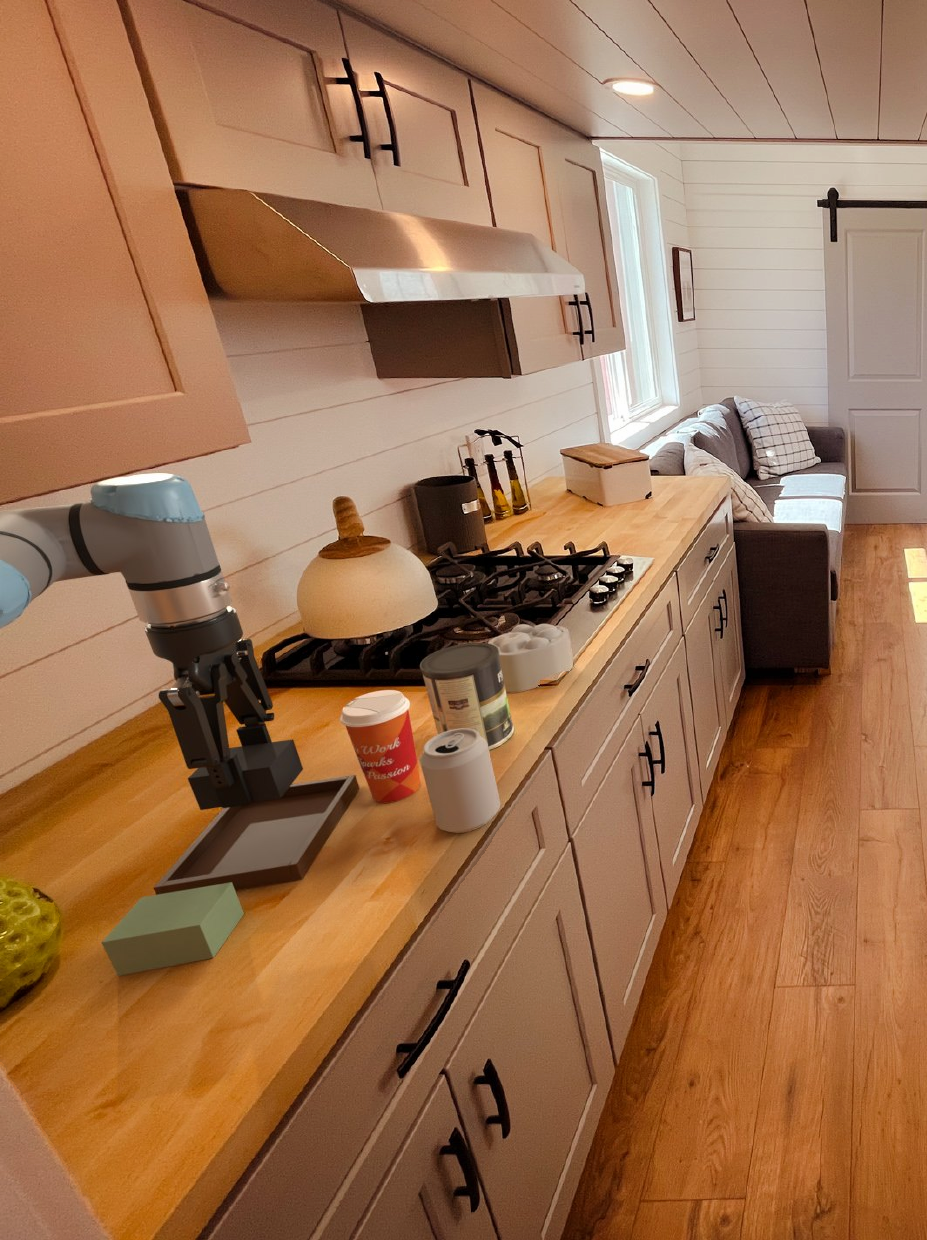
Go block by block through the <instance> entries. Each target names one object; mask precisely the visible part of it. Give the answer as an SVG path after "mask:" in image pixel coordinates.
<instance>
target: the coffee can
mask: <svg viewBox="0 0 927 1240" xmlns="http://www.w3.org/2000/svg"><path fill="white" fill-rule="evenodd" d="M419 669H420V672H421V673H422V677H423V681H424V685H425V689H426V692H427V697H428V702H429V705H430V708H431V709H430V710H431V713H432V717H433V721H434V725H435V728H436V733H437V735H438V734H441V733H443V732H446V731H449V730H453V729H460V728H469V729H474V730H476V731H477V732H479V734H480V736H481V737H482V738H484V739H485V740H486V741H487V744H488V748H489V751H491V750H494V749H496V748H498V747H500V746H501V745H503V744H505V743H506V742H507V741H508V740H509V739H511V737H512V736H513V734H514V732H515V726H514V723H513V719H512V714H511V709H510V706H509V699H508V695H507V692H506V689H505V684H504V679H503V674H502V669H501V664H500V660H499V650H498V648H497V647H496V646H495V645H492V644H488V642H465V643H461V644H459V643H458V644H455V645H451V646H447V647H445V648H441V649H439V650H437V651H434V652H433V653H430V654H428V655H427V656H426V657H424V658H423V659H422V661H420V664H419Z"/></svg>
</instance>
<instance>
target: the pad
mask: <svg viewBox="0 0 927 1240" xmlns="http://www.w3.org/2000/svg"><path fill="white" fill-rule="evenodd" d="M244 915H245V912H244V910H243V907H242V904H241V902H240V899H239V897H238V894H237V891H235V889H234V886H233V884H232V882H230V883H224V884H218V885H212V886H206V887H200V888H194V889H189V890H183V891H177V892H171V893H165V894H159V895H156V894H153V895H148V896H141V897H139V899H138V900H137V902H136V903H134V905H133V906H132V907H131V908H130V909H129V911H128V912H127V913H126V914H125V915H124V916H123V917H122V919H121V920H120V921H119V922H118V923H117V924H116V926H115V927H114V928H113V929H112V930H111V931H110V932H109V933H108V934H107V935H106V937H105V938H104V939H103V940H102V941H101V945H102V946H103V949H104V951H105V954H106V955H107V956H108V959H109V961H110V963H111V965H112V967H113V969H114V972H115V973H116V975H117V977H121V976H125V975H126V976H127V975H130V974H131V975H132V974H137V973H141V972H142V973H143V972H147V971H152V970H158V969H162V968H168V967H173V966H179V965H184V964H189V963H194V962H199V961H205V960H210V959H214V958H215V957H216V956H217V954H218V952H219V951H220V950H221V948H222V947H223V945H224V944H225V942H226V941H227V939H228V938H229V937H230V935H231V934H232V932H233V931H234V929H235V928H236V927H237V925H238V924H239V922H240V921H241V920H242V918H243V916H244Z"/></svg>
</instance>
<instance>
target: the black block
mask: <svg viewBox="0 0 927 1240" xmlns="http://www.w3.org/2000/svg"><path fill="white" fill-rule="evenodd" d="M229 750H230V755H235V754H237V757H238V760H239V762H240V765H241V768H242V771H243V774H244V777H245V779H246V782H247V785H248V787H249V790H250V793H251V795H252V798H253V802H259V801H265V800H272V799H279V798H281V797H282V796H283V795H284V793H285V792H286V791H287V789H288V788H289V787H290V786H291V784H294V782H295V781H296V780H297V778H298V777H299V775H300V774H301V773H302V771H303V770H304V767H303V764H302V761H301V759H300V755H299V753H298V749H297V747H296V744H295V740H294V739H286V740H285V739H284V740H278V741H272V742H270V743H262V744H255V745H247V746H242V745H241V746H234V747H233V746H232V747H229ZM187 782H188V783H189V786H190V788H191V791H192V793H193V796H194V798H195V800H196V803H197V806H198V808H199V809H200V811H205V810H211V809H217V808H222V805H221V803H220V800H219V798H218V795H217V792H216V790H215V787H214V786H213V784H212V781H211V778H210V776H209V774H208V771H207V769H206V767H203V768H196V770H194V772H192V774H190V776H188V777H187Z"/></svg>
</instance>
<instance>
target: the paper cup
mask: <svg viewBox="0 0 927 1240" xmlns="http://www.w3.org/2000/svg"><path fill="white" fill-rule="evenodd" d="M410 708H411V702H410V699H408V698H407V697H406V696H404V694H403V693H402V692H401V691H399V690H395V689H384V690H376V691H372V692H368V693H364V694H361V695H359V696H357V697H355V698H354V699H353V700H350V702H348V703H347V704H346V705H345V706H343V708H342V710H341V715H340V719H339V721H340V723H341V724H342V725H343V726H344V727H345V729H346V731H347V734H348V737H349V739H350V742H351V744H352V748H353V750H354V753H355V755H356V757H357V761H358V763H359V765H360V768H361V771H362V774H363V776H364V778H365V780H366V783H367V786H368V789H369V791H370V794H371V795H372V797H373V799H374V801H376V802H378V803H380V804H381V803H383V804H387V803H395V802H399V801H401V800H404V799H406V798H408V797H410V796H411V795H413V794H415V793H416V792H417V791H418V790H419V789H420V787H421V775H420V769H419V762H418V756H417V752H416V745H415V740H414V734H413V733H414V732H413V728H412V723H411V717H410V711H409V710H410Z"/></svg>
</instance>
